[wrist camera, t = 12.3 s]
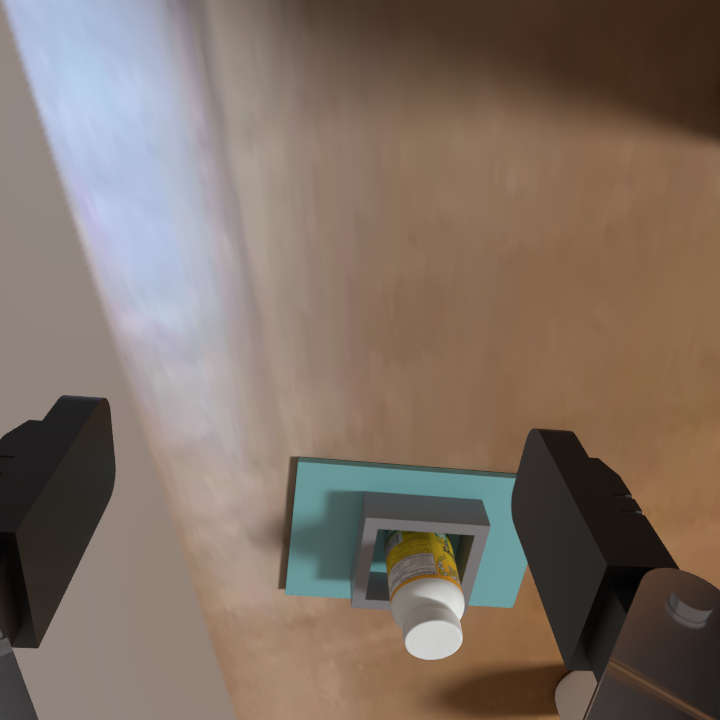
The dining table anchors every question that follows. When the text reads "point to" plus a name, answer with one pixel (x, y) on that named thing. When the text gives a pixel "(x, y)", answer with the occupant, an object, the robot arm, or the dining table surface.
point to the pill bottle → (574, 694)
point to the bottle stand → (400, 512)
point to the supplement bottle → (424, 592)
